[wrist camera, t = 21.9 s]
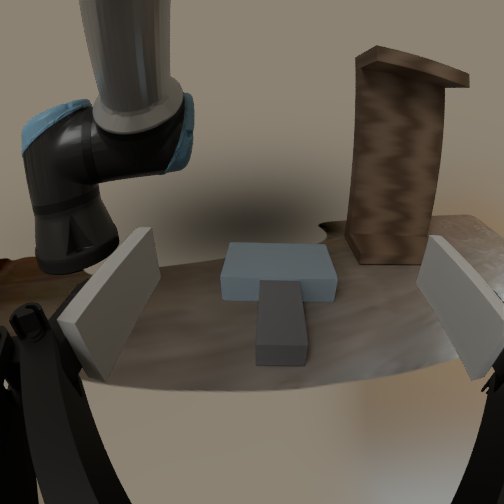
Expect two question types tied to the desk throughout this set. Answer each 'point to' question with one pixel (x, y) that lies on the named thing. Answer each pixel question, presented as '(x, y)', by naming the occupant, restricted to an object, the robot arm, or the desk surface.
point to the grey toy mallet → (279, 293)
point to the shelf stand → (396, 153)
